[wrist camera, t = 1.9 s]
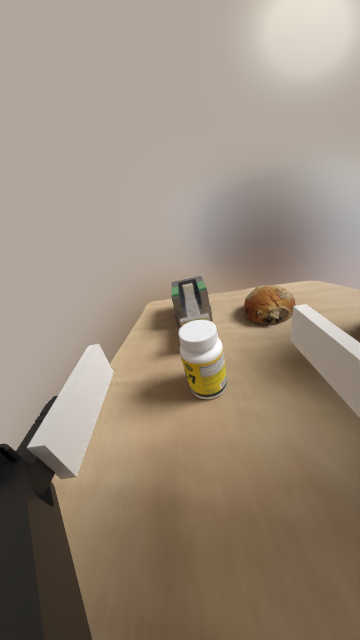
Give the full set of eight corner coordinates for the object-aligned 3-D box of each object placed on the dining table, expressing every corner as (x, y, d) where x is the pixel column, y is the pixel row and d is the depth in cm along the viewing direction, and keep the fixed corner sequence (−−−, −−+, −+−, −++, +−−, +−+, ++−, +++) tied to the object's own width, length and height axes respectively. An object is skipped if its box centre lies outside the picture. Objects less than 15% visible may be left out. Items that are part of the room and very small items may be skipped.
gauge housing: (212, 320, 45) (208, 289, 41) (178, 327, 45) (170, 297, 42) (206, 302, 54) (201, 274, 50) (177, 308, 54) (170, 281, 50)
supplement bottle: (184, 377, 32) (170, 325, 27) (217, 365, 33) (208, 312, 28) (197, 406, 27) (181, 349, 22) (234, 392, 28) (228, 333, 23)
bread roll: (295, 323, 44) (301, 286, 42) (287, 329, 36) (294, 285, 34) (250, 316, 50) (254, 284, 48) (235, 321, 41) (239, 282, 40)
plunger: (213, 344, 36) (206, 299, 32) (186, 349, 36) (176, 305, 32) (205, 317, 45) (198, 279, 40) (183, 321, 45) (175, 284, 41)
